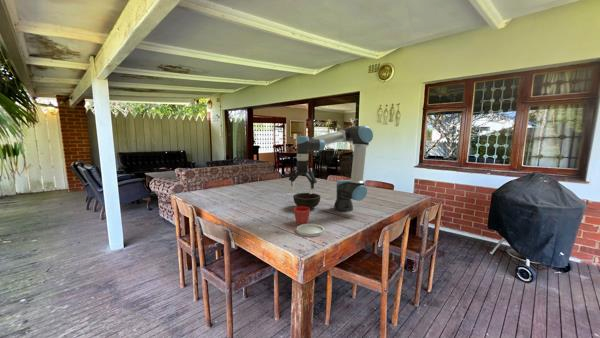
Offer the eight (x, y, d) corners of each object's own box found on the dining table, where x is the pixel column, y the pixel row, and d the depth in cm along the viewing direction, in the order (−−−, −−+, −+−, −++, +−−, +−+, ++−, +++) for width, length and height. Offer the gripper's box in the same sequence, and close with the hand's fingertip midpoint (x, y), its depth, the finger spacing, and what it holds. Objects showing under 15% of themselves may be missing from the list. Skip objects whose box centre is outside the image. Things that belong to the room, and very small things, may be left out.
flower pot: (295, 226, 168) (295, 211, 166) (292, 220, 178) (292, 206, 177) (311, 224, 170) (311, 210, 168) (307, 219, 180) (307, 205, 179)
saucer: (306, 224, 170) (306, 222, 170) (329, 230, 161) (329, 227, 160) (291, 232, 156) (291, 229, 156) (315, 238, 147) (315, 235, 147)
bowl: (288, 206, 213) (288, 194, 212) (312, 203, 223) (312, 191, 221) (300, 213, 194) (300, 200, 193) (325, 210, 203) (325, 197, 202)
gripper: (283, 159, 172) (283, 191, 175) (316, 161, 158) (315, 196, 161) (290, 158, 178) (290, 189, 181) (322, 160, 164) (321, 193, 167)
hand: (302, 192), depth 171 cm, fingers open, 13 cm apart
